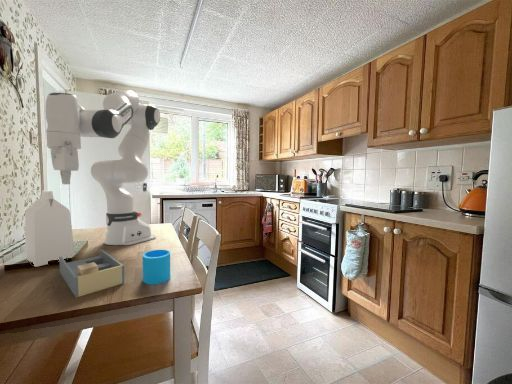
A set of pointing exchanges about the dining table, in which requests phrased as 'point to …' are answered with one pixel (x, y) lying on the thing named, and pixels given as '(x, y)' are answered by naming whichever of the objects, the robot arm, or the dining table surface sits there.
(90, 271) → the block
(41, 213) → the milk
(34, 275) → the dining table surface
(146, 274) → the mug
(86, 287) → the box
